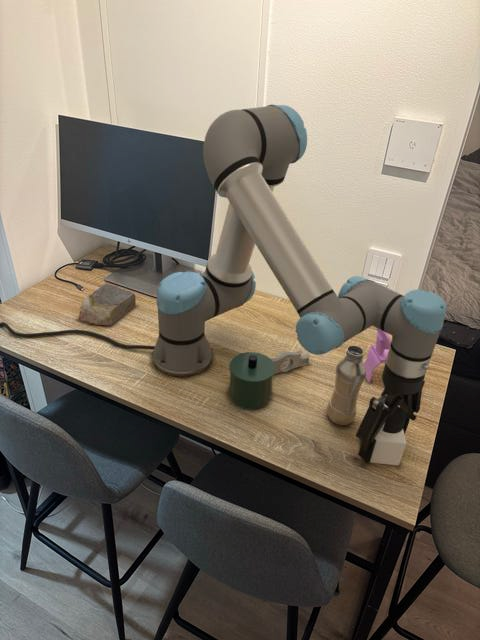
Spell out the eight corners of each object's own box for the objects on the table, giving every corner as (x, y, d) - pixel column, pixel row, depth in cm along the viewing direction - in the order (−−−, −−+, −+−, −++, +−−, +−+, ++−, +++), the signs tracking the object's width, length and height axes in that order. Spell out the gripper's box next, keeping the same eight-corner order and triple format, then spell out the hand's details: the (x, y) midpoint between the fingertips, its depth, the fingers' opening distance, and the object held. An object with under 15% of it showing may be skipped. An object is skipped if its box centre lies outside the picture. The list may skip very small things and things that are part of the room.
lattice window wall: (306, 361, 130) (309, 343, 127) (309, 365, 129) (312, 347, 126) (267, 372, 126) (269, 354, 122) (270, 376, 124) (272, 358, 121)
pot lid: (229, 384, 109) (230, 372, 107) (228, 355, 118) (228, 343, 116) (277, 385, 110) (279, 372, 108) (272, 355, 119) (273, 343, 117)
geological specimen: (137, 290, 147) (107, 312, 135) (137, 307, 150) (108, 330, 138) (107, 281, 150) (75, 302, 138) (107, 298, 153) (77, 320, 141)
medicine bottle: (393, 440, 108) (406, 401, 101) (399, 466, 102) (413, 426, 96) (361, 437, 109) (372, 397, 102) (364, 462, 103) (376, 422, 96)
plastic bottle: (338, 404, 117) (353, 337, 106) (359, 421, 113) (378, 353, 101) (319, 415, 114) (333, 347, 103) (340, 433, 109) (357, 364, 98)
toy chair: (402, 383, 125) (417, 336, 116) (370, 385, 123) (382, 337, 115) (390, 363, 132) (403, 317, 123) (359, 364, 130) (370, 318, 122)
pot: (230, 409, 114) (231, 381, 109) (228, 381, 122) (230, 354, 117) (272, 409, 115) (275, 381, 110) (268, 381, 123) (271, 354, 118)
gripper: (381, 400, 84) (357, 483, 97) (457, 358, 95) (427, 437, 108) (349, 376, 89) (331, 458, 102) (425, 339, 100) (400, 417, 113)
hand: (380, 447), depth 105 cm, fingers closed on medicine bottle, 10 cm apart
